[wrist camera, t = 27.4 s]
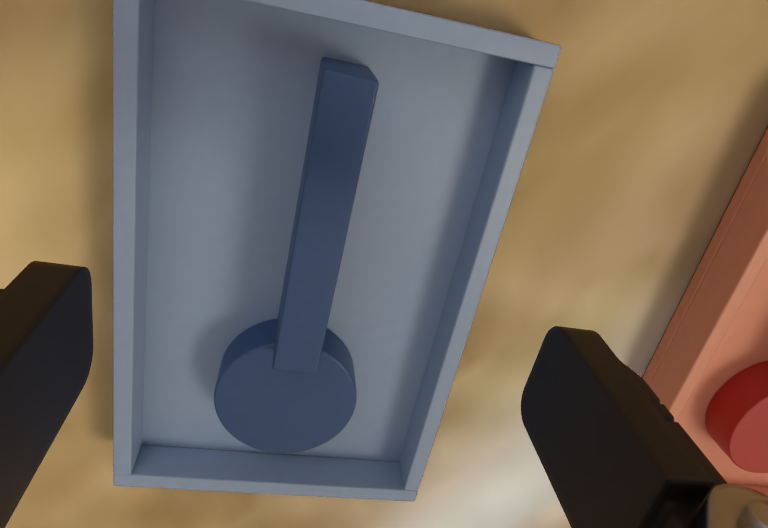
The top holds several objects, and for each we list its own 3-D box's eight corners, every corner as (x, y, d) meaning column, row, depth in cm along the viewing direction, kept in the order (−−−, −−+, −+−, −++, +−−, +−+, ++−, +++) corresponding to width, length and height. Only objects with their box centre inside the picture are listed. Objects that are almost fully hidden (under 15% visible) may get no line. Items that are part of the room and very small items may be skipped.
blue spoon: (340, 428, 22) (343, 480, 19) (214, 416, 21) (202, 470, 18) (426, 79, 16) (446, 95, 14) (260, 41, 15) (250, 52, 13)
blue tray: (136, -53, 14) (112, -58, 13) (535, 39, 16) (562, 45, 15) (129, 445, 22) (112, 486, 20) (407, 463, 24) (414, 502, 22)
